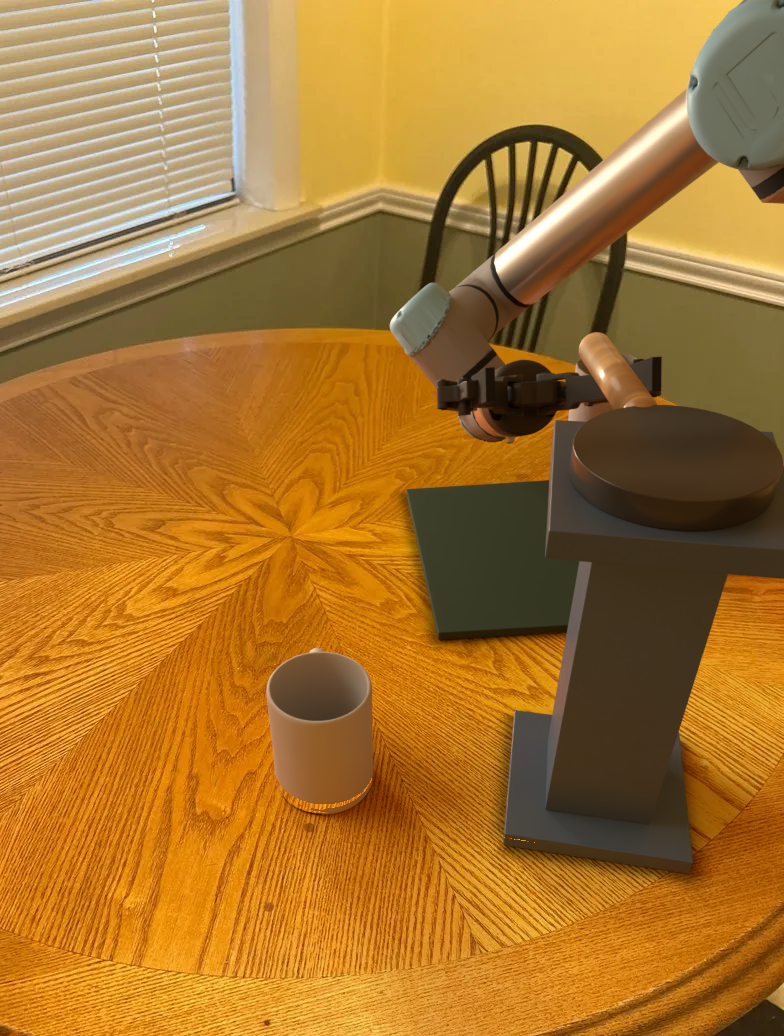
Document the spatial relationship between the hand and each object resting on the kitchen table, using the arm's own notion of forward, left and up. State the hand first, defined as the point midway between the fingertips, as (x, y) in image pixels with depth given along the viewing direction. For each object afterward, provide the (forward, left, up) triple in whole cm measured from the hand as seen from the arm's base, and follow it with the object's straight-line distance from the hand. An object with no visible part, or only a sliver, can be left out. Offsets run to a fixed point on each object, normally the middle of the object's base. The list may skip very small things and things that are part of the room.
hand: (573, 379), depth 73 cm
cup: (-6, -43, -27) cm, 51 cm away
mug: (+18, +21, -27) cm, 39 cm away
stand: (-5, +20, -27) cm, 34 cm away
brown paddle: (-4, +14, +3) cm, 15 cm away
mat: (+5, -13, -27) cm, 30 cm away
